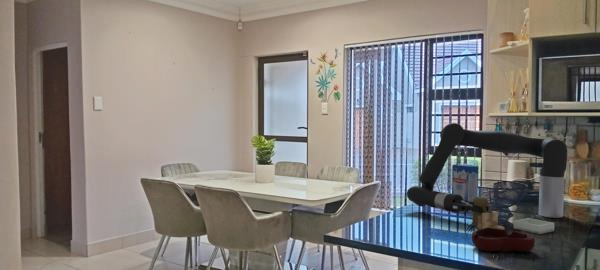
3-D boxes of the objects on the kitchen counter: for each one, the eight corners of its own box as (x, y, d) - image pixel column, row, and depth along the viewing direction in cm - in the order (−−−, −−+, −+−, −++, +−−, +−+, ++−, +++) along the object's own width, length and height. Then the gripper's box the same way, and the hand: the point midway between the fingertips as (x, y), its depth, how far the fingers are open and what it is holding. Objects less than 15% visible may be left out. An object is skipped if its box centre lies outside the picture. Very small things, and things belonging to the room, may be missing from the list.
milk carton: (451, 207, 219) (452, 164, 219) (461, 206, 222) (462, 164, 221) (467, 211, 210) (468, 166, 210) (477, 210, 213) (478, 166, 212)
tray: (528, 225, 183) (528, 217, 183) (554, 230, 175) (554, 222, 175) (513, 228, 178) (513, 220, 177) (539, 234, 169) (539, 225, 169)
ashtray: (513, 241, 159) (513, 227, 158) (539, 256, 142) (539, 239, 142) (460, 241, 158) (461, 226, 158) (480, 255, 142) (481, 239, 142)
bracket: (493, 226, 181) (493, 202, 181) (505, 228, 177) (506, 205, 176) (477, 228, 176) (478, 204, 175) (490, 231, 171) (491, 207, 171)
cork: (489, 227, 177) (490, 198, 177) (472, 226, 178) (473, 197, 178) (486, 224, 183) (487, 195, 182) (470, 223, 184) (471, 195, 184)
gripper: (437, 194, 189) (474, 201, 174) (460, 191, 196) (497, 198, 182) (436, 213, 189) (473, 221, 175) (459, 209, 197) (496, 217, 182)
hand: (485, 209), depth 179 cm, fingers closed on cork, 4 cm apart
